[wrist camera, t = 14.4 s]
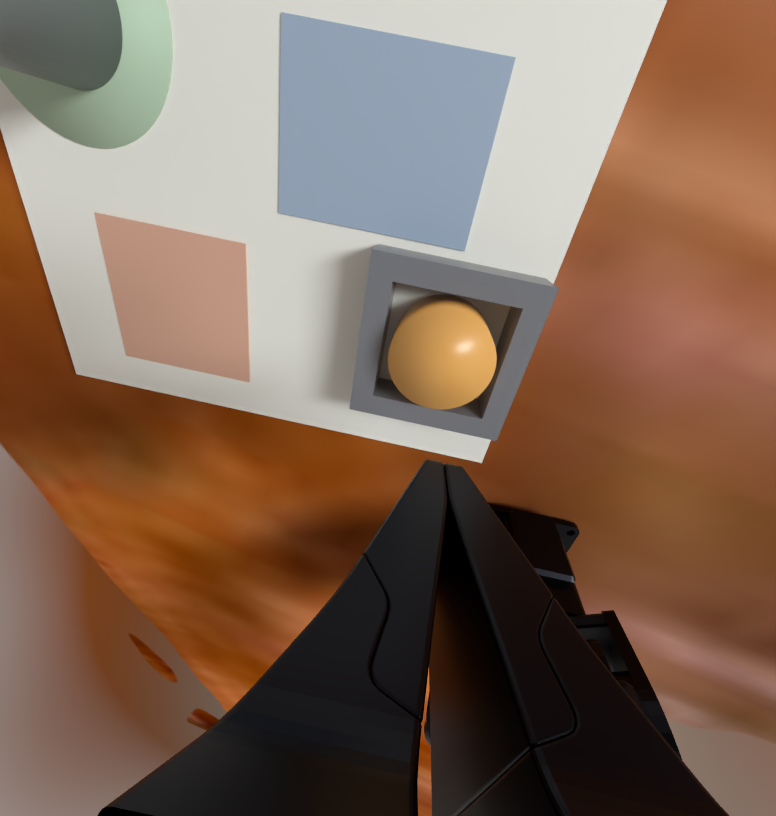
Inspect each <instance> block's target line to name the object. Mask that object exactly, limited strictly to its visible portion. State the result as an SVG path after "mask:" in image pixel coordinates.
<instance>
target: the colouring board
mask: <svg viewBox="0 0 776 816" xmlns="http://www.w3.org/2000/svg"><path fill="white" fill-rule="evenodd" d="M116 1H117V5H118V9H119V13H120V18H121V24H122V53H121V58H120V62H119V65H118V68H117V70H116V72H115V74H114V76H113V77H112V78H111V80H110V81H109V82H108V83H106V84H105V85H104V86H102V87H100V88H98V89H95V90H89V91H83V90H77V89H74V88H70V87H67V86H64V85H60V84H57V83H54V82H50V81H47V80H44V79H41V78H37V77H34V76H31V75H27V74H24V73H21V72H17V71H14V70H11V69H7V68H4V67H1V66H0V129H1V132H2V136H3V139H4V142H5V145H6V148H7V152H8V155H9V158H10V161H11V165H12V168H13V171H14V174H15V178H16V181H17V184H18V187H19V190H20V194H21V197H22V200H23V203H24V207H25V210H26V213H27V216H28V219H29V223H30V226H31V229H32V232H33V236H34V239H35V242H36V245H37V249H38V252H39V255H40V258H41V261H42V265H43V268H44V271H45V274H46V278H47V281H48V284H49V287H50V291H51V294H52V297H53V300H54V303H55V307H56V310H57V313H58V316H59V320H60V323H61V326H62V329H63V332H64V336H65V339H66V342H67V345H68V349H69V352H70V355H71V358H72V362H73V365H74V368H75V371H76V374H78V375H83V376H87V377H92V378H96V379H101V380H105V381H110V382H115V383H119V384H124V385H128V386H133V387H137V388H142V389H146V390H151V391H156V392H160V393H165V394H169V395H174V396H178V397H183V398H188V399H192V400H197V401H201V402H206V403H210V404H215V405H220V406H224V407H229V408H233V409H238V410H242V411H247V412H251V413H256V414H261V415H265V416H270V417H274V418H279V419H283V420H288V421H293V422H297V423H302V424H306V425H311V426H315V427H320V428H324V429H329V430H334V431H338V432H343V433H347V434H352V435H356V436H361V437H366V438H370V439H375V440H379V441H384V442H388V443H393V444H398V445H402V446H407V447H411V448H416V449H420V450H425V451H429V452H434V453H439V454H443V455H448V456H452V457H457V458H461V459H466V460H471V461H475V462H480V463H482V461H483V459H484V456H485V454H486V451H487V449H488V446H489V444H490V441H491V440H489V439H485V438H480V437H475V436H471V435H466V434H462V433H457V432H452V431H448V430H443V429H439V428H434V427H429V426H425V425H420V424H416V423H411V422H406V421H402V420H397V419H393V418H388V417H383V416H379V415H374V414H370V413H365V412H360V411H356V410H351V409H349V408H350V400H351V393H352V386H353V379H354V371H355V364H356V357H357V350H358V342H359V335H360V328H361V320H362V313H363V306H364V299H365V291H366V284H367V277H368V270H369V262H370V255H371V249H372V248H374V247H375V246H377V245H378V244H382V245H387V246H392V247H397V248H402V249H406V250H411V251H416V252H421V253H426V254H431V255H435V256H440V257H445V258H450V259H455V260H460V261H464V262H469V263H474V264H479V265H484V266H489V267H493V268H498V269H503V270H508V271H513V272H518V273H523V274H527V275H532V276H537V277H542V278H546V279H547V280H549V281H550V282H552V283H553V284H554V281H555V279H556V276H557V274H558V271H559V269H560V266H561V264H562V261H563V259H564V256H565V254H566V251H567V249H568V246H569V244H570V241H571V239H572V236H573V234H574V231H575V229H576V226H577V224H578V221H579V219H580V216H581V214H582V211H583V209H584V206H585V204H586V201H587V199H588V196H589V194H590V191H591V189H592V186H593V184H594V182H595V179H596V177H597V174H598V172H599V169H600V167H601V164H602V162H603V159H604V157H605V154H606V152H607V149H608V147H609V144H610V142H611V139H612V137H613V134H614V132H615V129H616V127H617V124H618V122H619V119H620V117H621V114H622V112H623V109H624V107H625V104H626V102H627V99H628V97H629V94H630V92H631V89H632V87H633V84H634V82H635V79H636V77H637V74H638V72H639V69H640V67H641V64H642V62H643V59H644V57H645V54H646V52H647V49H648V47H649V44H650V42H651V39H652V37H653V34H654V32H655V29H656V27H657V24H658V22H659V19H660V17H661V14H662V12H663V9H664V7H665V4H666V2H667V0H116ZM440 294H444V295H454V296H457V297H460V298H463V299H465V300H467V301H468V302H470V303H472V304H473V305H474V306H475V307H476V308H477V309H478V310H479V311H480V312H481V314H482V315H483V317H484V319H485V321H486V323H487V326H488V328H489V331H490V333H491V336H492V338H493V341H494V344H495V347H497V344H498V341H499V338H500V335H501V333H502V330H503V327H504V324H505V321H506V318H507V315H508V313H509V310H510V307H511V306H507V305H503V304H498V303H493V302H488V301H483V300H479V299H474V298H469V297H464V296H460V295H455V294H450V293H445V292H440V291H436V290H431V289H426V288H421V287H416V286H412V285H407V284H402V283H397V282H396V285H395V291H394V297H393V302H392V308H391V313H390V319H389V324H388V330H387V336H386V341H385V347H384V352H383V358H382V364H381V369H380V375H379V378H383V379H388V380H392V378H391V376H390V372H389V368H388V353H389V348H390V345H391V342H392V339H393V336H394V333H395V330H396V328H397V325H398V323H399V321H400V319H401V317H402V316H403V314H404V313H405V312H406V311H407V310H408V309H409V308H410V307H411V306H412V305H413V304H415V303H416V302H418V301H419V300H421V299H424V298H426V297H429V296H433V295H440ZM478 398H479V396H478V397H476V399H478Z"/></svg>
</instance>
